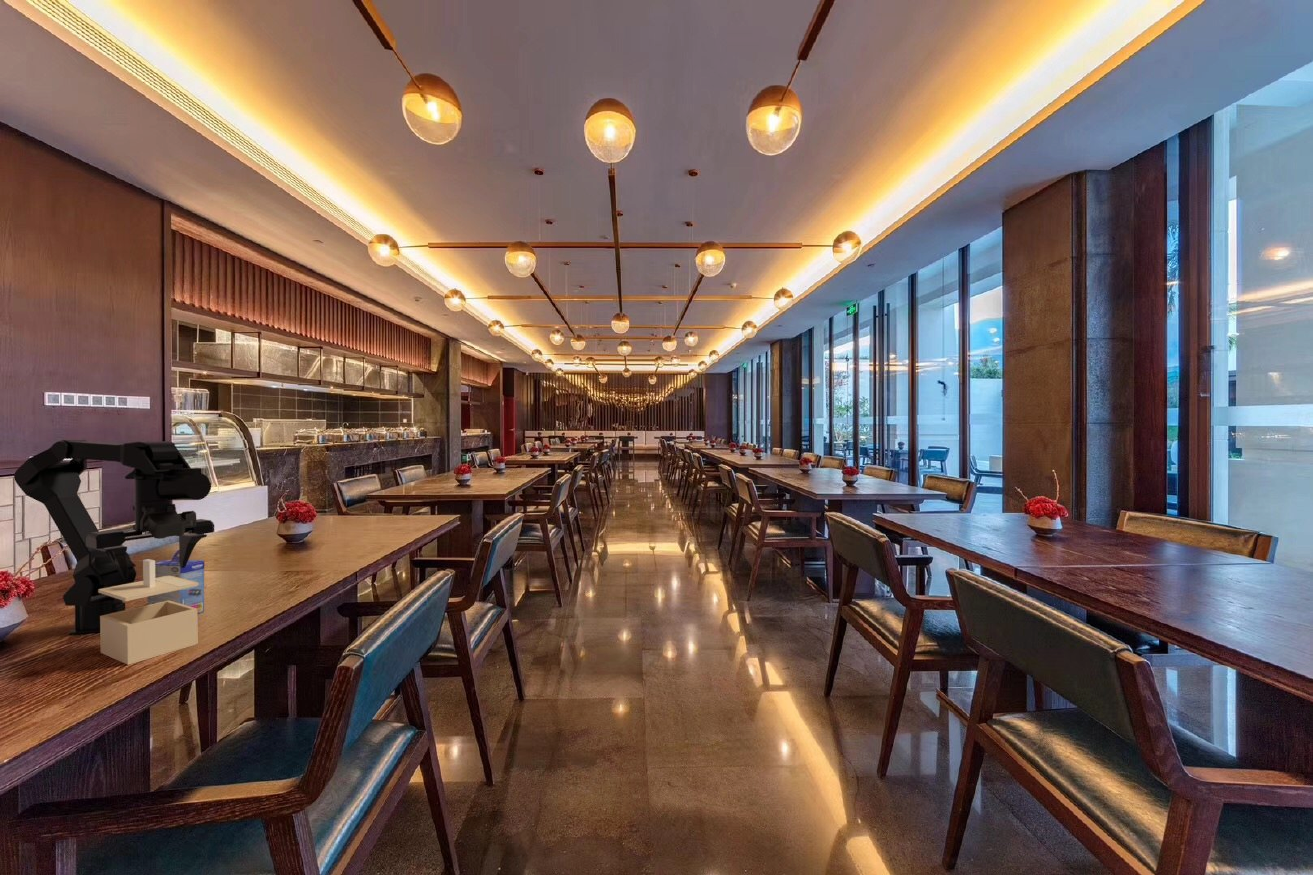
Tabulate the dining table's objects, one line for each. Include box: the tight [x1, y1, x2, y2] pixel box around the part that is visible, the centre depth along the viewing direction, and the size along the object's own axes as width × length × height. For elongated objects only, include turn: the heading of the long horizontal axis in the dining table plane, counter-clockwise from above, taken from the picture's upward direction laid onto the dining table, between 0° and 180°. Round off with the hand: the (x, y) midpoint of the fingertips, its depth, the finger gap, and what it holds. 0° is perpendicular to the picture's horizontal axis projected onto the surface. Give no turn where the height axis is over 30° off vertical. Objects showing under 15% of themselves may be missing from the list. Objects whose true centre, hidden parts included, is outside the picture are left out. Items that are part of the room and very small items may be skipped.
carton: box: [99, 600, 199, 665], centre depth 98 cm, size 12×10×7 cm
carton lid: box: [98, 558, 198, 602], centre depth 98 cm, size 12×10×6 cm
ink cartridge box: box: [147, 549, 206, 615], centre depth 117 cm, size 10×6×14 cm, turn 78°
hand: (155, 573), depth 107 cm, fingers open, 9 cm apart
